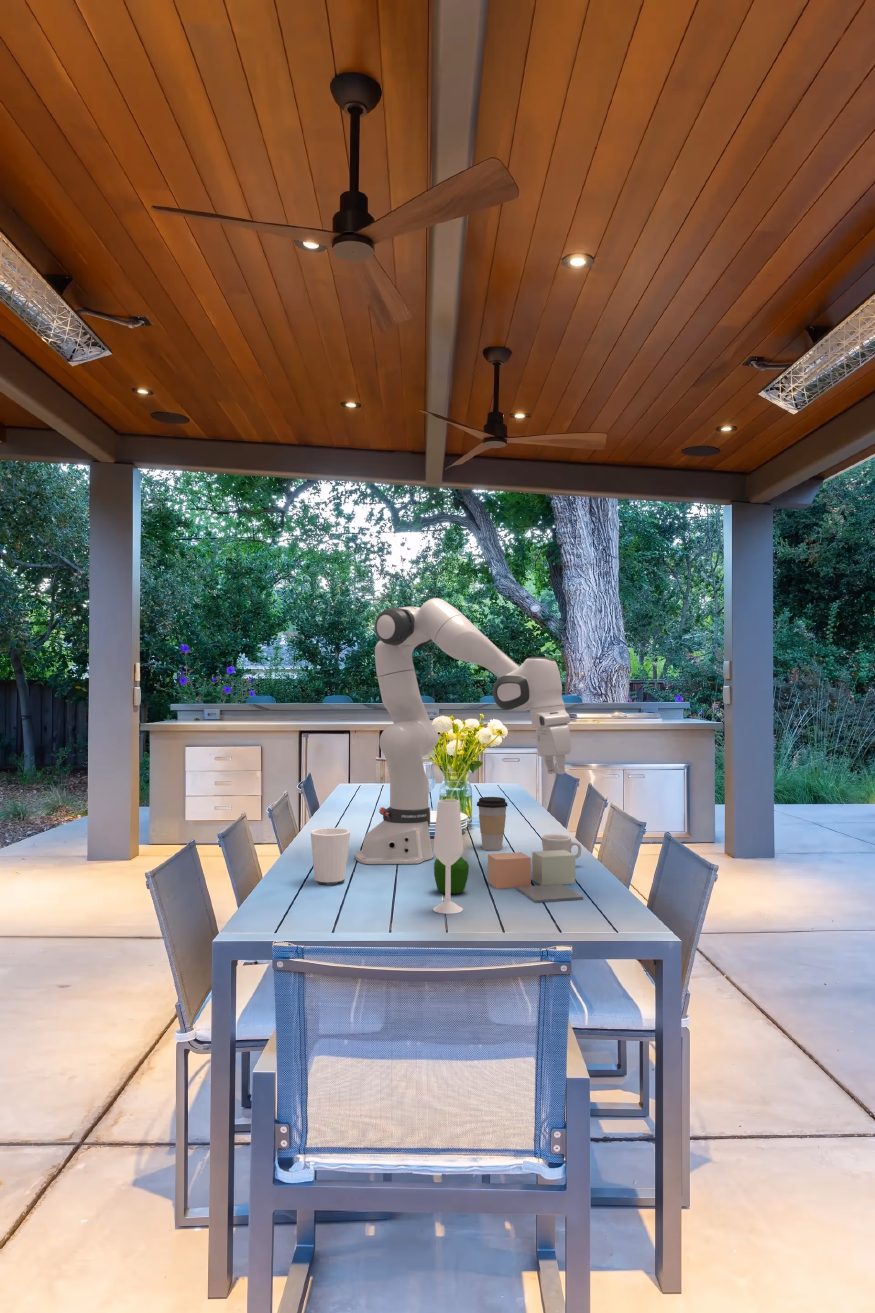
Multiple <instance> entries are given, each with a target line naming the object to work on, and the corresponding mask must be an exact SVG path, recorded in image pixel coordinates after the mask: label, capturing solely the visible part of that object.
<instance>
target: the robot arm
mask: <svg viewBox="0 0 875 1313" xmlns="http://www.w3.org/2000/svg"><path fill="white" fill-rule="evenodd" d="M375 618H376V619H375V622H374V631H375V634H376V637H377V638H378V640H379V641H378V642H377V643H376V645H375V648H374V661H375V662H374V664H375V670H376V676H377V677H376V678H377V681H378V685H379V686H378V687H379V691H380V696H381V700H382V701H381V702H382V704H383V706H384V708H385V709H386V710H387V712H388V714H389V716H390V718H391V720H392V722H393V723H391V724H390V725H389V726H387V727H386V728H385V729H384V730H383V731H382V732H381V734H380V736H379V748H380V750H381V752H382V754H383V756H384V758H385V760H386V766H387V771H388V774H389V775H388V776H389V785H390V786H389V801H390V802H389V806H388V807H387V808H385V807H384V806H383V807H380V808H379V810H378V811H379V812H378V813H379V814H380V815H382V821H381V822H380V823H378V824H377V825H376V826H375V827H373V828H372V829H371V830H369V831H368V832H367V833H366V834H365V836H364V839H363V844H362V848H361V850H357V851H356V852H355V853H354V859H355V860H356V861H357V862H359V863H361V864H365V865H400V864H401V865H405V864H406V865H409V864H411V865H414V864H415V865H416V864H421V863H423V862H425V861H429V860H431V859H433V858H434V856H435V854H434V851H433V848H432V842H431V836H430V826H431V810H430V809H431V807H430V806H429V789H430V788H429V787H430V786H429V784H430V783H429V778H428V776H427V775H426V772H425V768H424V762H423V757H425V756H426V755H429V754H430V753H431V752H432V751H433V750H434V749H435V748H436V746H437V744H438V740H439V734H438V731H437V729H436V727H435V726H434V724H433V723H432V722H431V720H430V717H429V715H428V712H427V709H426V707H425V704H424V702H423V700H422V696H421V693H420V688H419V683H418V678H417V674H416V669H415V665H414V662H413V652H414V650H415V649H417V650H421V649H423V647H424V646H426V645H428V644H429V643H432V642H433V643H434V644H435V645H436V646H437V647H438V648H439V649H440V650H441V651H443V653H445V654H447V655H448V656H449V657H451V658H453V659H455V660H458V661H461V662H466V663H471V664H475V665H477V666H479V667H483V668H485V669H487V670H488V671H490V672H491V673H492V674H493V675H494V676H495V677H497V680H496V681H495V682H494V684H493V688H492V698H493V701H494V703H495V704H496V706H497V707H498V708H500V709H501V710H504V711H509V712H524V711H525V712H530V713H529V714H530V718H531V726H532V728H533V729H535V728H536V730H535V740H536V750H537V751H536V752H537V755H538V756H539V757H543V758H544V759H543V760H544V761H543V762H544V763H545V767H546V771H547V774H548V775H553V774H557V775H563V774H566V767H565V766H566V755H570V754H571V750H572V749H571V743H572V742H571V731H570V726H569V724H570V723H571V716H570V714H569V713H568V712H567V710H566V706H565V702H564V699H563V696H562V692H563V685H562V679H561V674H560V669H559V666H558V664H557V661H556V660H555V659H553V658H552V657H549V656H548V657H546V656H543V657H542V656H530V657H527V658H526V659H525V660H524V661H523V663H522V664H521V665H519V663H517V662H516V661H515V660H514V659H513V658H511V657H510V656H509V655H508V654H506V653H505V652H504V651H503V650H502V649H501V648H499V647H498V646H497V645H495V644H494V643H493V641H491V640H490V639H489V638H488V637H487V636H486V635H485V634H484V633H483V632H482V631H480V630H479V629H478V627H476V625H474V624H473V623H472V622H471V620H469V619H468V618H467V617H466V616H465V615H464V614H463V613H461V611H459V610H458V609H457V608H456V607H455V606H453V605H452V604H450V603H448V602H447V601H445V600H443V599H442V598H439V597H433V598H430V599H428V600H426V601H425V602H424V603H423V604H422V605H421V606H420V607H419V606H411V605H410V606H404V607H391V608H387V609H384V610H382V611H381V612H380V613H379V614H378V615H377V617H375ZM554 756H555V757H554ZM554 758H555V761H556V766H555V764H554Z"/></svg>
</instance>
